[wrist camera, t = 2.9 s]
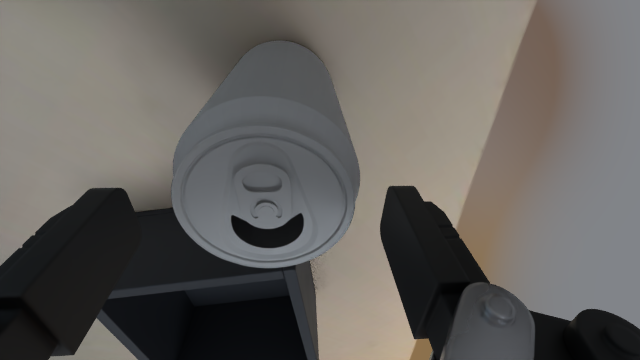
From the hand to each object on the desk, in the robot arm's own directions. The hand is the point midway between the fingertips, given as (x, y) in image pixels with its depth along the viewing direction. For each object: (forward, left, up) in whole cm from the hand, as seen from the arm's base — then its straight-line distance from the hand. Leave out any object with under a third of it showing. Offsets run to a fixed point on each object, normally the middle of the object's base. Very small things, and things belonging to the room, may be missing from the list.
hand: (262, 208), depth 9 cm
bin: (+5, +16, -12) cm, 20 cm away
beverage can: (0, 0, -12) cm, 12 cm away
